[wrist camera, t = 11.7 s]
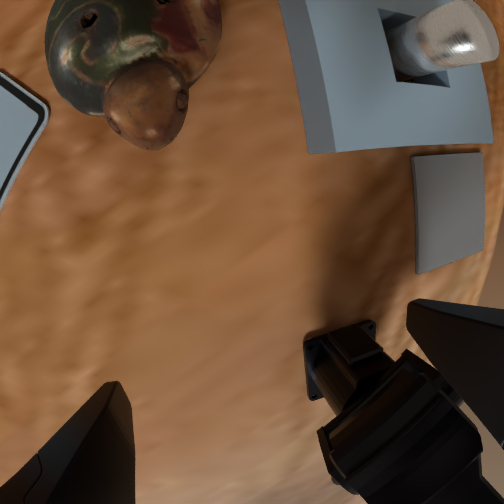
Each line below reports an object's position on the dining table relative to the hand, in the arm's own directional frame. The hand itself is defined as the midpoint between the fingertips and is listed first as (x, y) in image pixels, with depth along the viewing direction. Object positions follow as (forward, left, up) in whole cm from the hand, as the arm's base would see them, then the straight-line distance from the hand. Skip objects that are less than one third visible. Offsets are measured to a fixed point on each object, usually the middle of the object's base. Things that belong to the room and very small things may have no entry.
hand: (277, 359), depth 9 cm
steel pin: (+12, -15, -13) cm, 23 cm away
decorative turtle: (+14, +3, -13) cm, 19 cm away
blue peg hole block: (+12, -15, -13) cm, 23 cm away
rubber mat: (-1, -21, -13) cm, 25 cm away
